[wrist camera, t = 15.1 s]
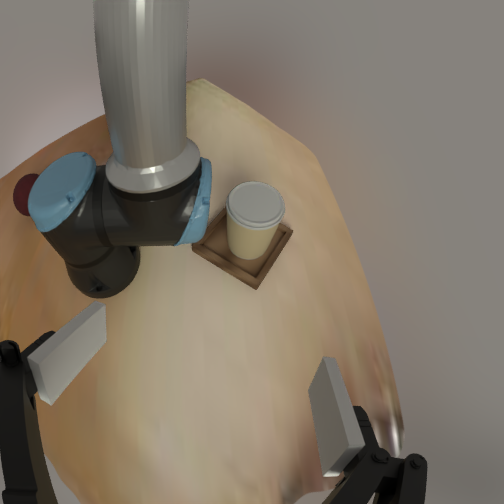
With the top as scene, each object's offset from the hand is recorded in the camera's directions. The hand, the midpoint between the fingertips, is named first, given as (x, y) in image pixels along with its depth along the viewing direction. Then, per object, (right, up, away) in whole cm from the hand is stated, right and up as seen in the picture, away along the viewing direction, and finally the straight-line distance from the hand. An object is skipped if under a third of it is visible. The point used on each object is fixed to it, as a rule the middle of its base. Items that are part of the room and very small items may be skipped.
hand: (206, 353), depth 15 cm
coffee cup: (+2, +8, +38) cm, 39 cm away
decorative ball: (-49, +16, +37) cm, 64 cm away
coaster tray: (+1, +7, +39) cm, 40 cm away
